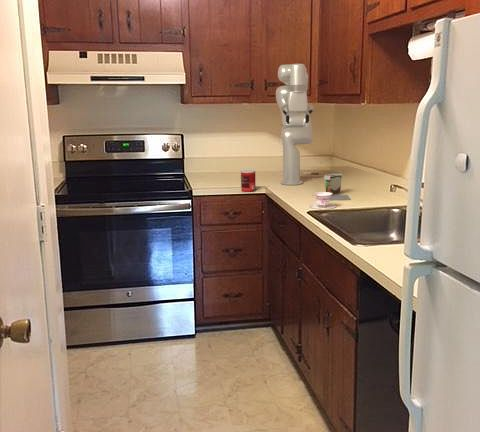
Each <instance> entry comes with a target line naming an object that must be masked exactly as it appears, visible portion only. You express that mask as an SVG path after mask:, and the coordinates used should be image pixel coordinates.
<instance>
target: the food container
mask: <svg viewBox="0 0 480 432" xmlns="http://www.w3.org/2000/svg"><path fill="white" fill-rule="evenodd" d="M342 178H343V174H342V173H325V174H324V176H323V180H324V184H325V185H324V186H325V187H324V188H325V192H329V193H333V194H332V195H341V192H342V191H341V189H342Z"/></svg>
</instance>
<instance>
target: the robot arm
mask: <svg viewBox="0 0 480 432" xmlns="http://www.w3.org/2000/svg"><path fill="white" fill-rule="evenodd" d="M277 78H278V80H279V81H280V82H282V83H283V84H285V85H281V86H278V87H277V88H276V90H275V100H276V103H277V106H278V107H279V110H280V113H281V122H282V123H281V124H282V126H283V128H284V129H282V131H281V132H280V133H281V136H280V137H281V142H282V165H283V166H282V180H280V185H285V186H298V185H302V184H303V180H301V153H300V152H301V151H300V150H299V148H297V145H310V144H311V143H312V142H313V140H314V135H313V127H312V126H313V125H312V121H311V116H310V115H311V114H312V113H313V111H314V109H315V106H314V105H313V104H311V103H309V102H308V94H307V91H308V90H309V88H308V83H309V74H308V71H307V67H306V65H305V64H304V63H292V64H291V63H290V64H281V65H280V66H279V67H278V70H277ZM309 108H310V110H309Z"/></svg>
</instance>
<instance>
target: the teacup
mask: <svg viewBox="0 0 480 432" xmlns="http://www.w3.org/2000/svg"><path fill="white" fill-rule="evenodd" d="M332 194H333V193H329V192H326V191H318V192H315V193H313V194H312V195H311V197H312V201H313V202H314V203H312V204H309V208H311V209H316V210H332V209H336V208H337V205H336V204H333V203H330V200H329V199H330V197H331V196H332ZM314 197H315V198H314ZM315 199H316V200H315Z"/></svg>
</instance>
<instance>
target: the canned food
mask: <svg viewBox="0 0 480 432" xmlns="http://www.w3.org/2000/svg"><path fill="white" fill-rule="evenodd" d="M256 183H257V181H256V170H255V169H241V170H240V189H241V193H254V192H256Z"/></svg>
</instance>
